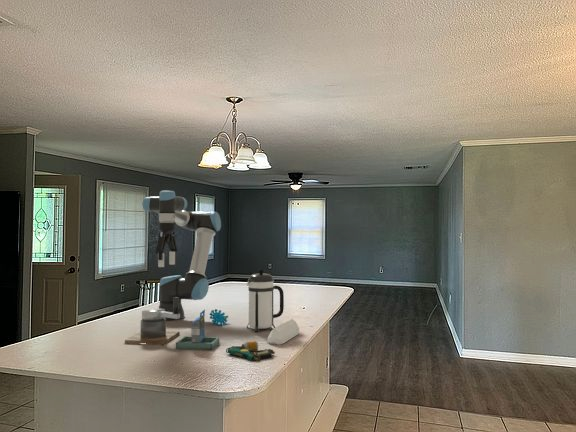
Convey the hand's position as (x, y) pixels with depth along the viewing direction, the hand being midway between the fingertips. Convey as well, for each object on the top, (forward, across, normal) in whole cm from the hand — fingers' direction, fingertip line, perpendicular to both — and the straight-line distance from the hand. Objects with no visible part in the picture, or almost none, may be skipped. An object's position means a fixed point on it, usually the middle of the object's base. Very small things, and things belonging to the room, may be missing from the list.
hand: (166, 265), depth 212 cm
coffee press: (+32, +10, -46) cm, 57 cm away
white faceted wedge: (+32, -7, -59) cm, 67 cm away
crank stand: (+32, -15, 0) cm, 35 cm away
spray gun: (+32, -34, -49) cm, 68 cm away
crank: (+23, -17, -5) cm, 29 cm away
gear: (+32, +17, -22) cm, 42 cm away
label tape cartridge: (+29, -24, -24) cm, 45 cm away
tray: (+32, -24, -24) cm, 46 cm away
